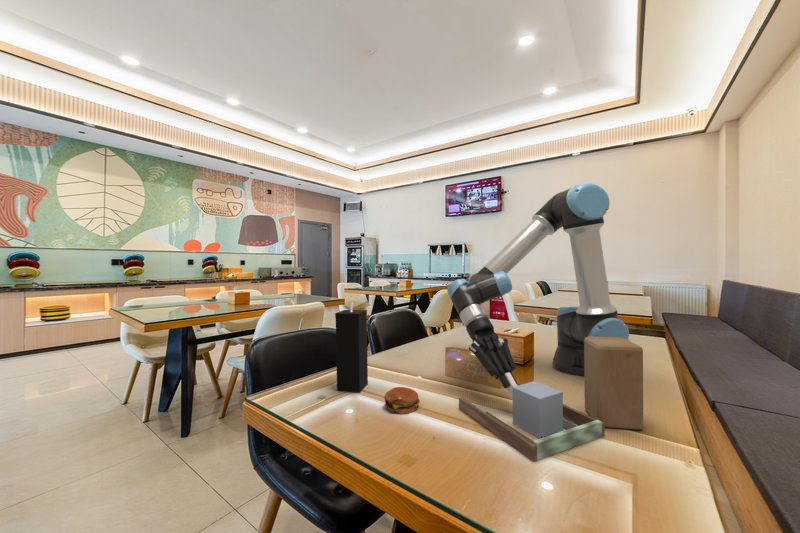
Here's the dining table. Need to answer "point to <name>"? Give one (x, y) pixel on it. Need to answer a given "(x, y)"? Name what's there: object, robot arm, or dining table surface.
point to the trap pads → (566, 426)
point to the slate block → (538, 408)
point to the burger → (402, 400)
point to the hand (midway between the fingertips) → (517, 398)
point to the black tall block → (351, 349)
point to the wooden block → (614, 381)
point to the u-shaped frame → (546, 445)
